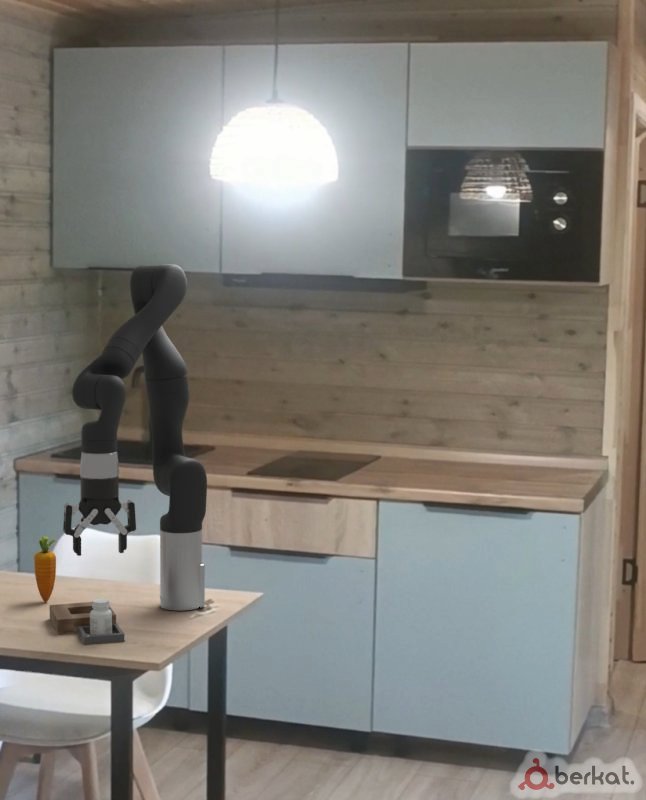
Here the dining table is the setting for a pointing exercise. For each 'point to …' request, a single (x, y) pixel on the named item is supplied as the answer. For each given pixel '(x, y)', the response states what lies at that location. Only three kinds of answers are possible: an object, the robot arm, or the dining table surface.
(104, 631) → the pill bottle
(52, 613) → the socket block
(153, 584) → the dining table surface
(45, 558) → the carrot
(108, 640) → the tray
